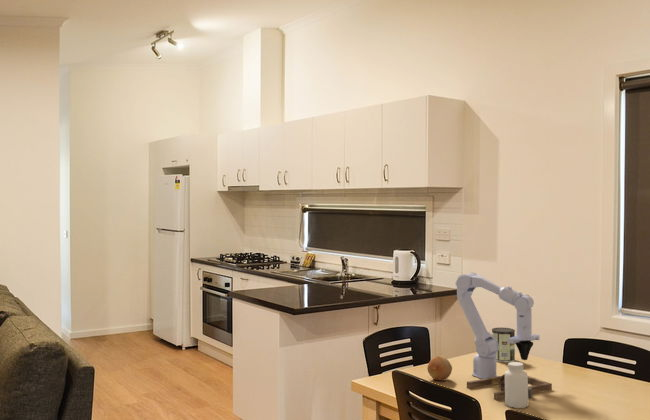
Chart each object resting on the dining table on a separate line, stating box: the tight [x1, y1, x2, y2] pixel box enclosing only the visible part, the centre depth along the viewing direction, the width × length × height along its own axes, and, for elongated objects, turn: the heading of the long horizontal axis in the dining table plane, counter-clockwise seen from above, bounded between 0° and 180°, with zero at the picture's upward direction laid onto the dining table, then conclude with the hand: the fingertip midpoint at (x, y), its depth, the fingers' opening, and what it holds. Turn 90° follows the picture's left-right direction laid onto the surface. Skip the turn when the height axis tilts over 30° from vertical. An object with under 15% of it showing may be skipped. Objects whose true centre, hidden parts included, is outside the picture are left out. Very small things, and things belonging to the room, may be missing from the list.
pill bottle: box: [504, 361, 529, 409], centre depth 220 cm, size 8×8×15 cm
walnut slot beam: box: [466, 375, 553, 401], centre depth 239 cm, size 17×28×2 cm, turn 116°
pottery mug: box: [499, 373, 505, 391], centre depth 238 cm, size 12×10×8 cm
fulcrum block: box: [528, 387, 532, 399], centre depth 230 cm, size 3×3×3 cm
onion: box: [427, 355, 453, 381], centre depth 252 cm, size 10×10×10 cm
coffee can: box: [491, 327, 516, 363], centre depth 284 cm, size 10×10×14 cm
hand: (524, 359), depth 245 cm, fingers closed
